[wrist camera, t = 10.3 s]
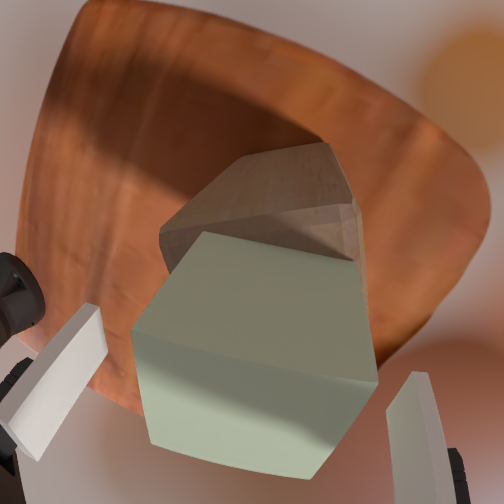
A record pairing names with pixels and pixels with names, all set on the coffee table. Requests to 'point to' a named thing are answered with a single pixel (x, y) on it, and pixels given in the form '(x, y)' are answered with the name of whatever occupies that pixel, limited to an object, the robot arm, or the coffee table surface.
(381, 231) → the coffee table surface
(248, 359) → the sage cube
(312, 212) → the wooden block
